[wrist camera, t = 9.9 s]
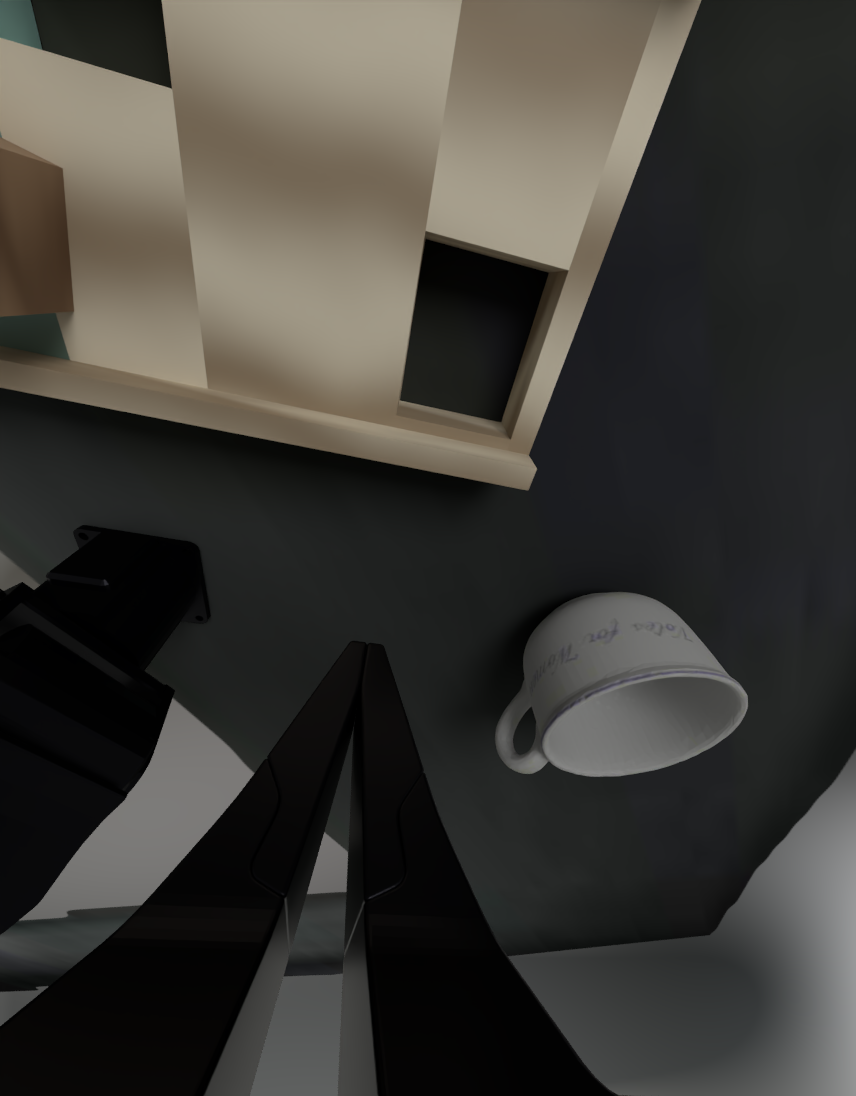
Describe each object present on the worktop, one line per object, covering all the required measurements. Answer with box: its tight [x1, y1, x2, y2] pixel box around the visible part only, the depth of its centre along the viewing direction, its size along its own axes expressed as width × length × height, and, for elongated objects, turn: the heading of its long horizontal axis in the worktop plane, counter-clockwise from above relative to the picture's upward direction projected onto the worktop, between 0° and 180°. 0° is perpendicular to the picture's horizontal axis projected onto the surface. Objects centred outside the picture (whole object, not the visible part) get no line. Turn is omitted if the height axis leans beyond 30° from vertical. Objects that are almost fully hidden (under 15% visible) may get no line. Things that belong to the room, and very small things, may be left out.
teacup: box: [495, 592, 748, 777], centre depth 24 cm, size 14×11×8 cm
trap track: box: [0, 0, 701, 490], centre depth 11 cm, size 15×26×4 cm, turn 78°
